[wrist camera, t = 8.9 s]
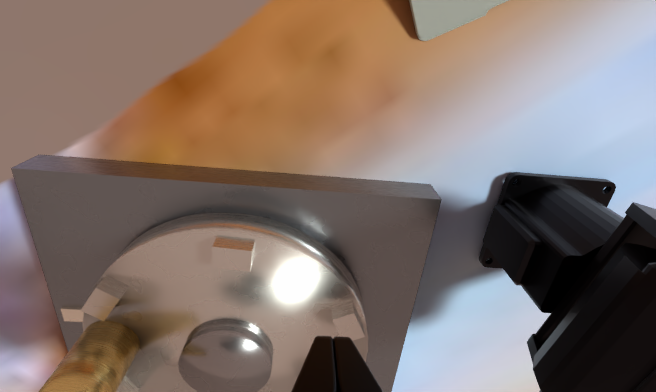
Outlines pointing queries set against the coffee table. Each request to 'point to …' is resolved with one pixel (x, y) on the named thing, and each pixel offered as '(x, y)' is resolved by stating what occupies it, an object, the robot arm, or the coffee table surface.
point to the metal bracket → (446, 15)
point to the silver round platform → (211, 310)
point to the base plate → (234, 197)
